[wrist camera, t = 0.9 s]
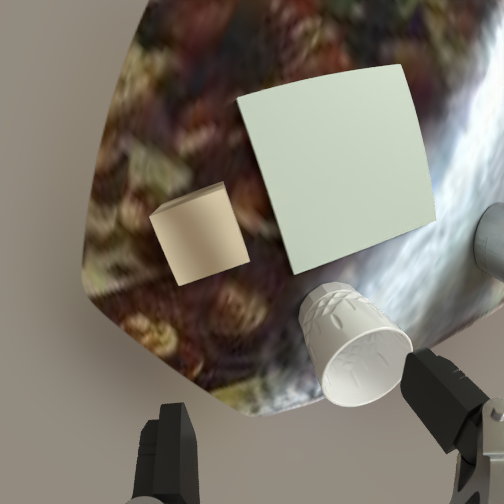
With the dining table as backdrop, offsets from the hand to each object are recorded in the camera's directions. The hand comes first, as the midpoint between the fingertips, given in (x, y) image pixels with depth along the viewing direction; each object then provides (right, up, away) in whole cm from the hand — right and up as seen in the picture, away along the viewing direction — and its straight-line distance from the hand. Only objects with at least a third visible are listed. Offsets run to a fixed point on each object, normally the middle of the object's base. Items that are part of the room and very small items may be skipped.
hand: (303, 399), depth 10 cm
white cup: (+6, -1, +21) cm, 22 cm away
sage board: (+7, +13, +17) cm, 22 cm away
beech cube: (-6, +8, +17) cm, 20 cm away
